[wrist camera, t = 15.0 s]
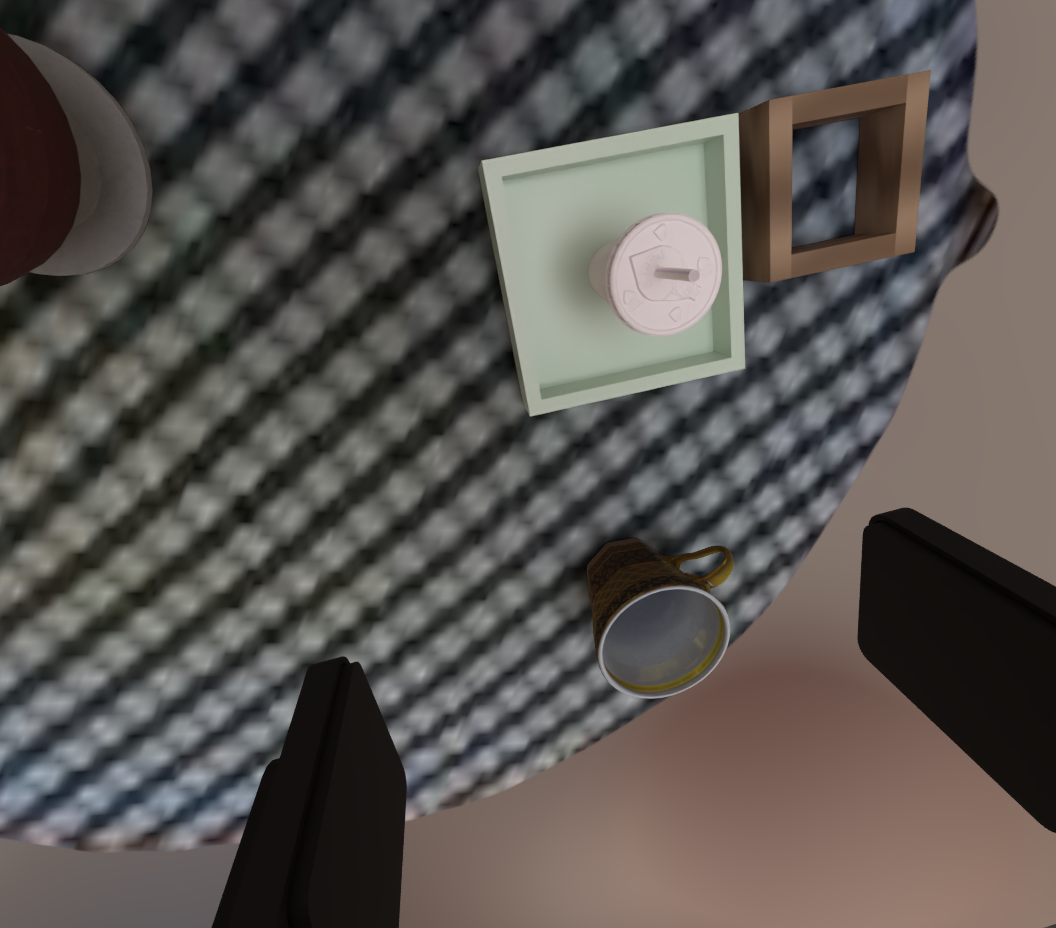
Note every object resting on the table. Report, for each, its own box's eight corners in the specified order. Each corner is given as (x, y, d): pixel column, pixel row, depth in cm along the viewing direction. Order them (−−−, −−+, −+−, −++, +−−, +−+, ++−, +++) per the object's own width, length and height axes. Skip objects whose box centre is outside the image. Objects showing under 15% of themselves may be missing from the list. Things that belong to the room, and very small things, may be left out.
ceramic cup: (624, 634, 51) (665, 718, 42) (543, 583, 47) (569, 663, 38) (720, 532, 48) (786, 598, 39) (643, 472, 45) (696, 528, 36)
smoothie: (595, 203, 36) (682, 176, 23) (674, 248, 38) (795, 245, 25) (553, 294, 38) (613, 316, 25) (630, 333, 40) (723, 371, 27)
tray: (477, 169, 35) (481, 160, 32) (711, 125, 36) (738, 112, 33) (523, 403, 41) (530, 416, 38) (721, 359, 42) (745, 368, 39)
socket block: (735, 115, 36) (769, 99, 32) (881, 88, 37) (930, 70, 33) (740, 279, 40) (770, 282, 37) (871, 251, 41) (914, 251, 37)
